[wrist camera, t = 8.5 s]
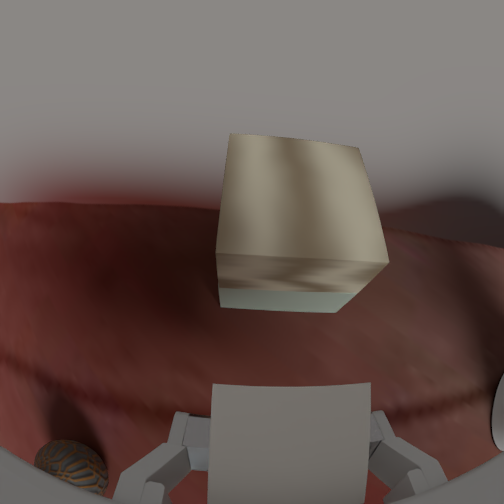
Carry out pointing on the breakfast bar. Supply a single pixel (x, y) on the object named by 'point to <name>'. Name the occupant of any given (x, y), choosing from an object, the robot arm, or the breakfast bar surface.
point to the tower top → (297, 217)
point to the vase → (73, 465)
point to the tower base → (283, 300)
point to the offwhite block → (289, 444)
